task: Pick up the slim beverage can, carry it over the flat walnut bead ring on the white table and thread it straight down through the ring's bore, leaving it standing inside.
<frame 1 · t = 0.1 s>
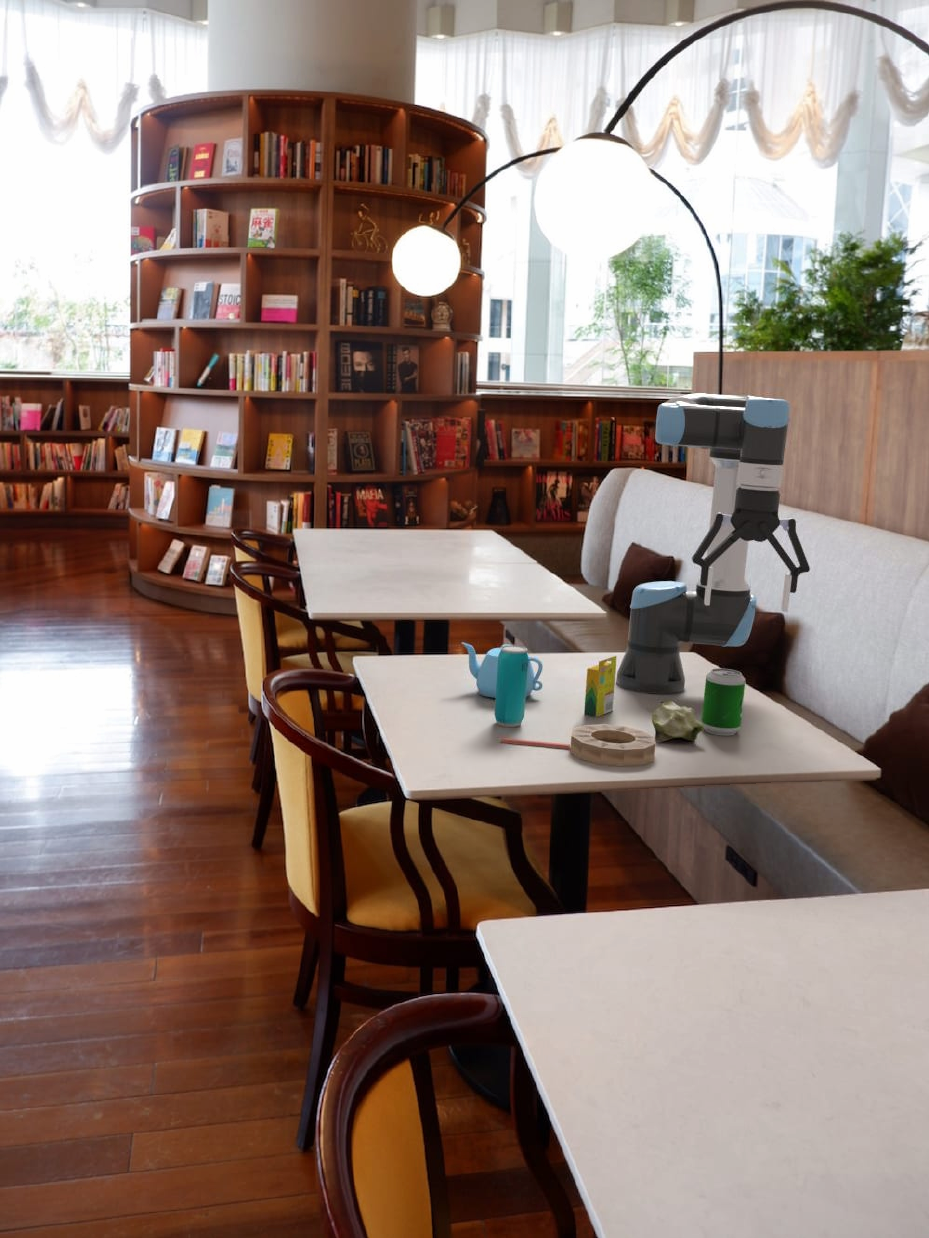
hand: (745, 607, 212), 28 cm above the table, fingers open, 13 cm apart
crayon box: (598, 713, 242), on the table
soda can: (720, 732, 235), on the table
beverage can: (508, 724, 230), on the table
stick: (535, 744, 218), on the table
bead: (611, 752, 216), on the table
fruit: (674, 739, 228), on the table
teapot: (499, 694, 252), on the table
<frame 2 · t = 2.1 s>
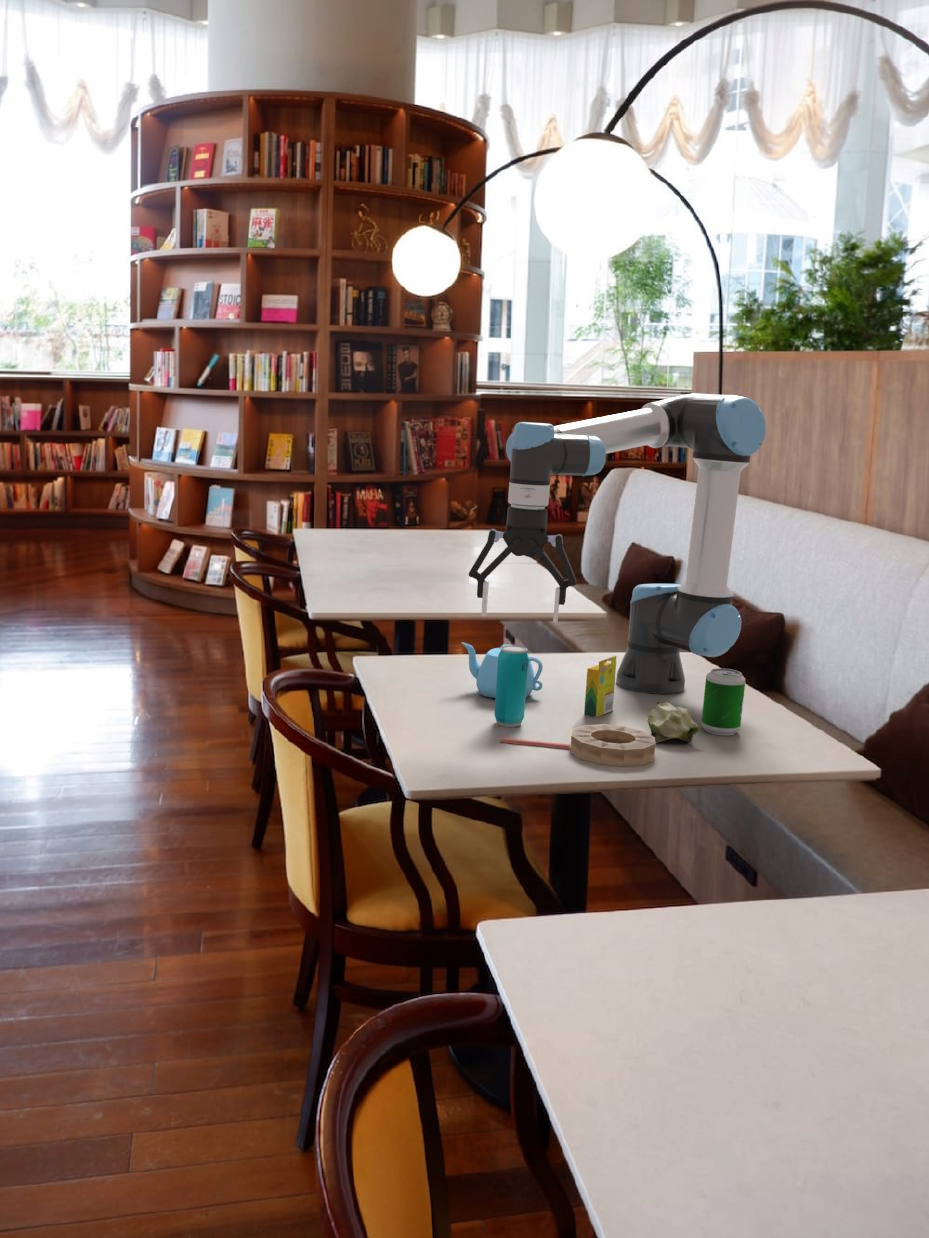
hand: (519, 618, 226), 21 cm above the table, fingers open, 13 cm apart
fruit: (670, 740, 227), on the table
everything else where it was.
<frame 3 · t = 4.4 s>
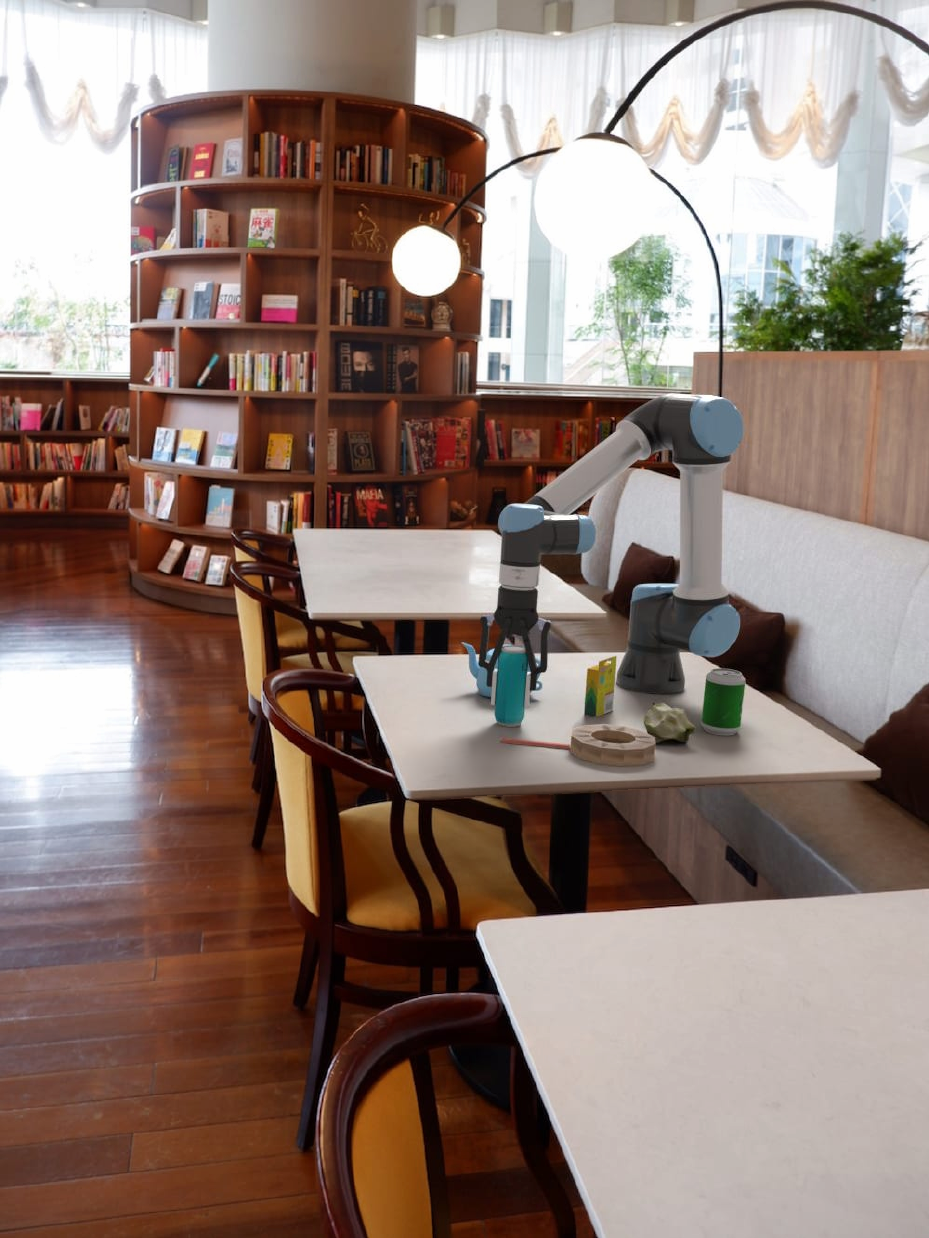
hand: (510, 704, 230), 4 cm above the table, fingers closed on beverage can, 6 cm apart
beverage can: (508, 724, 230), on the table, touching gripper
fruit: (666, 741, 226), on the table
everything else where it was.
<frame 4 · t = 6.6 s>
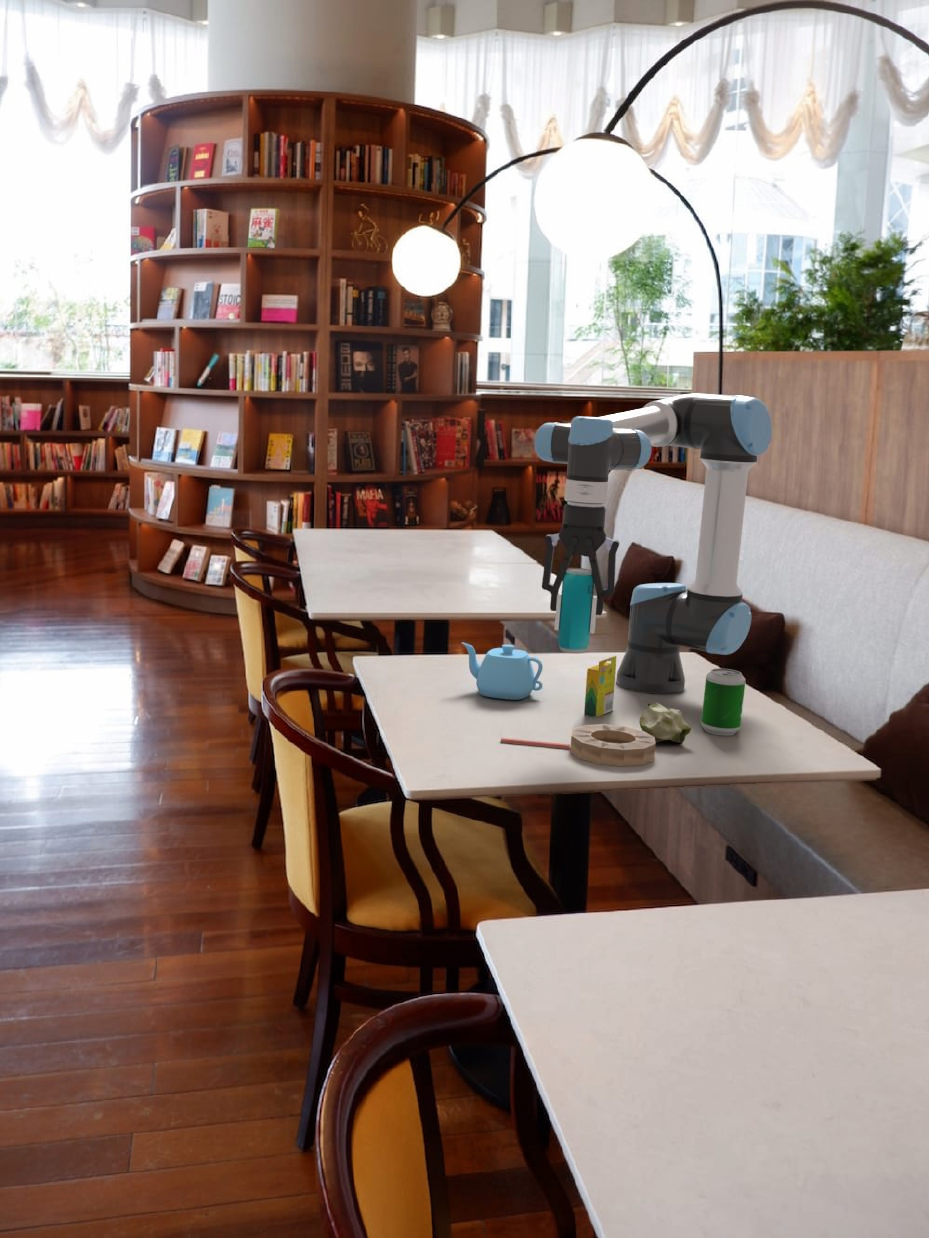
hand: (574, 630, 218), 21 cm above the table, fingers closed on beverage can, 6 cm apart
beverage can: (572, 651, 219), point 17 cm above the table, touching gripper
fruit: (662, 742, 226), on the table
everything else where it was.
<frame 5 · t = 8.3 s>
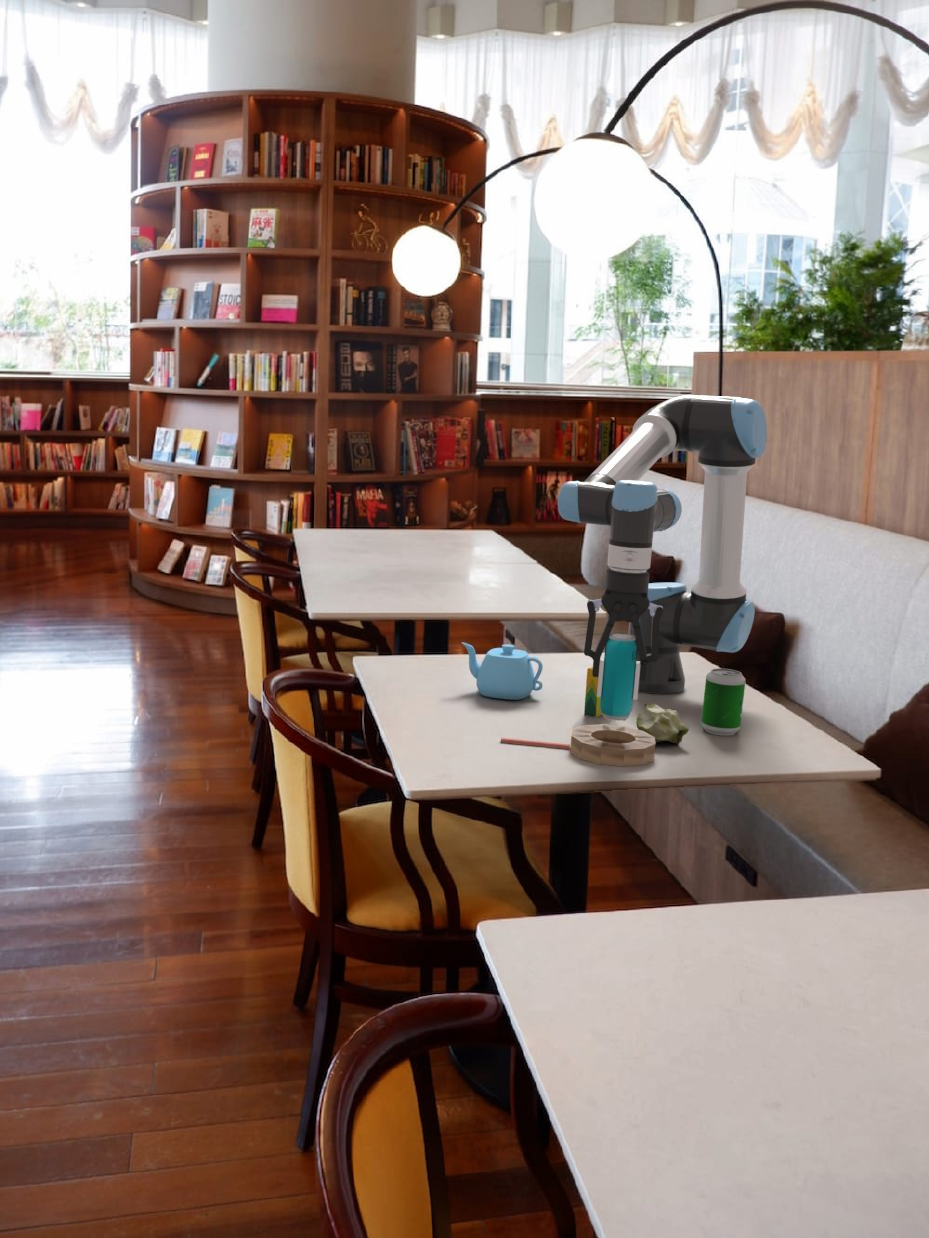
hand: (617, 696, 214), 11 cm above the table, fingers closed on beverage can, 6 cm apart
beverage can: (615, 717, 215), point 7 cm above the table, touching gripper
when the fingers open (6 cm above the table, at t = 10.0 s): beverage can drops 2 cm, resting in bead.
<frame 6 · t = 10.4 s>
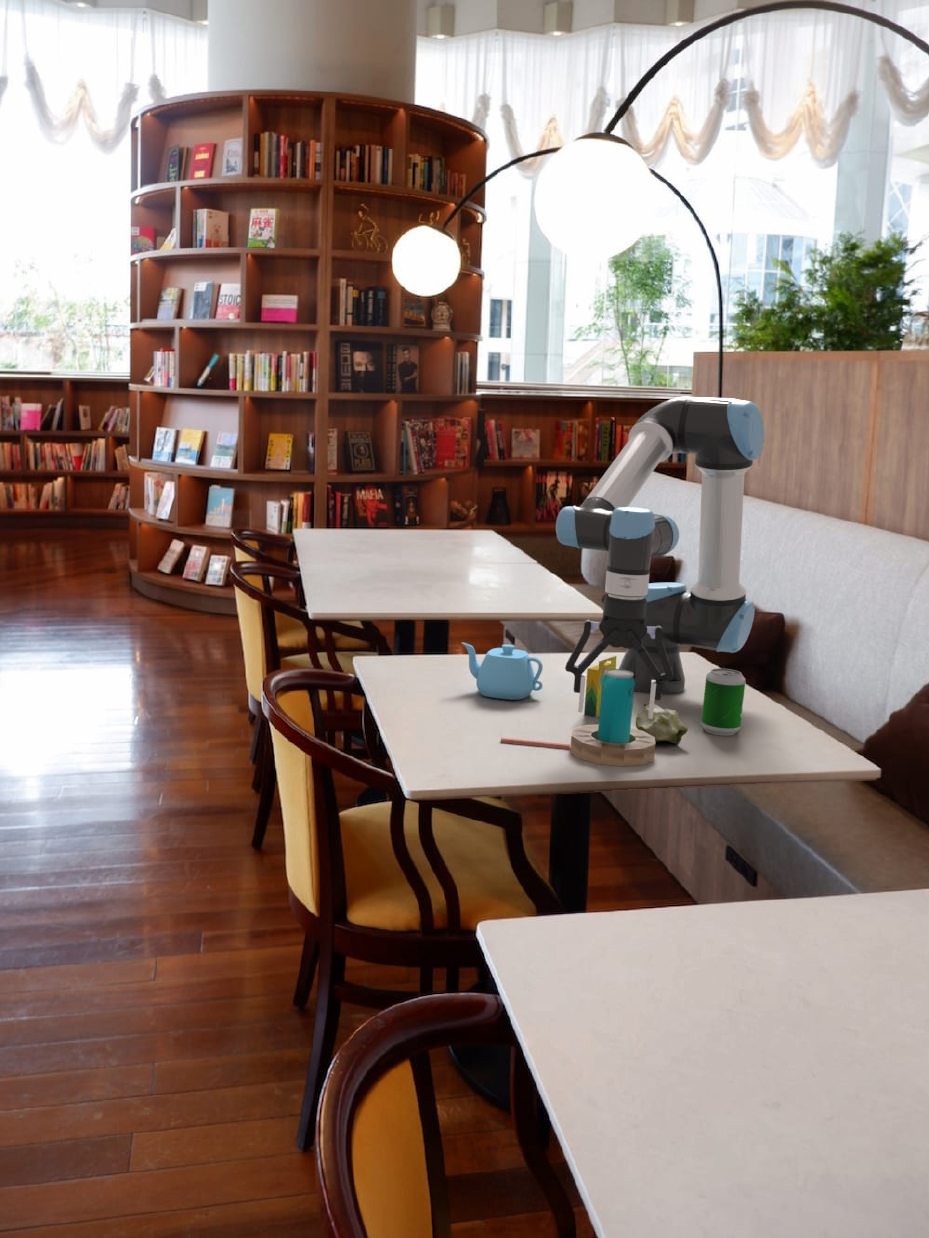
hand: (615, 713, 215), 7 cm above the table, fingers open, 12 cm apart
beverage can: (612, 753, 216), resting in bead
everything else where it was.
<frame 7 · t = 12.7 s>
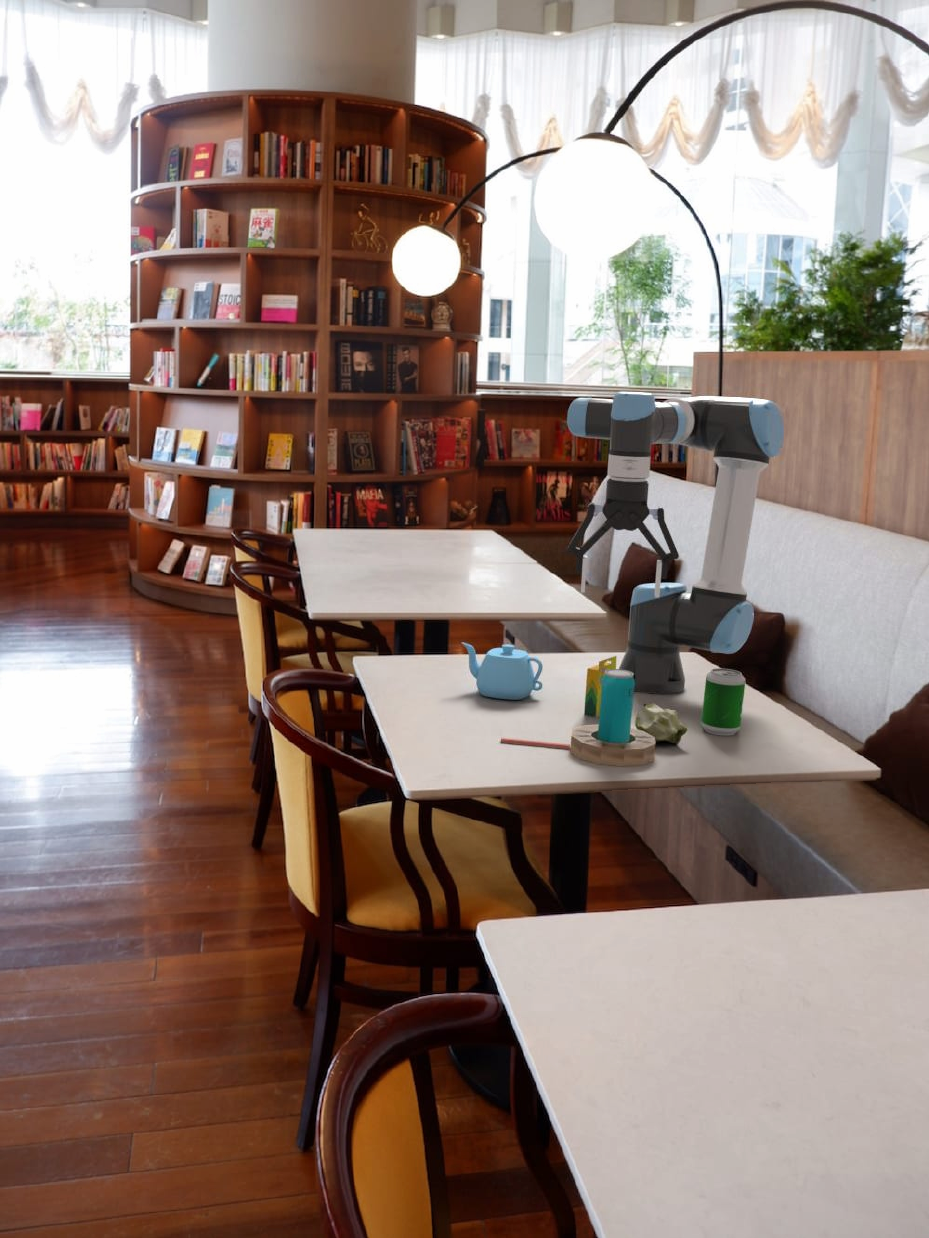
hand: (619, 593, 220), 28 cm above the table, fingers open, 13 cm apart
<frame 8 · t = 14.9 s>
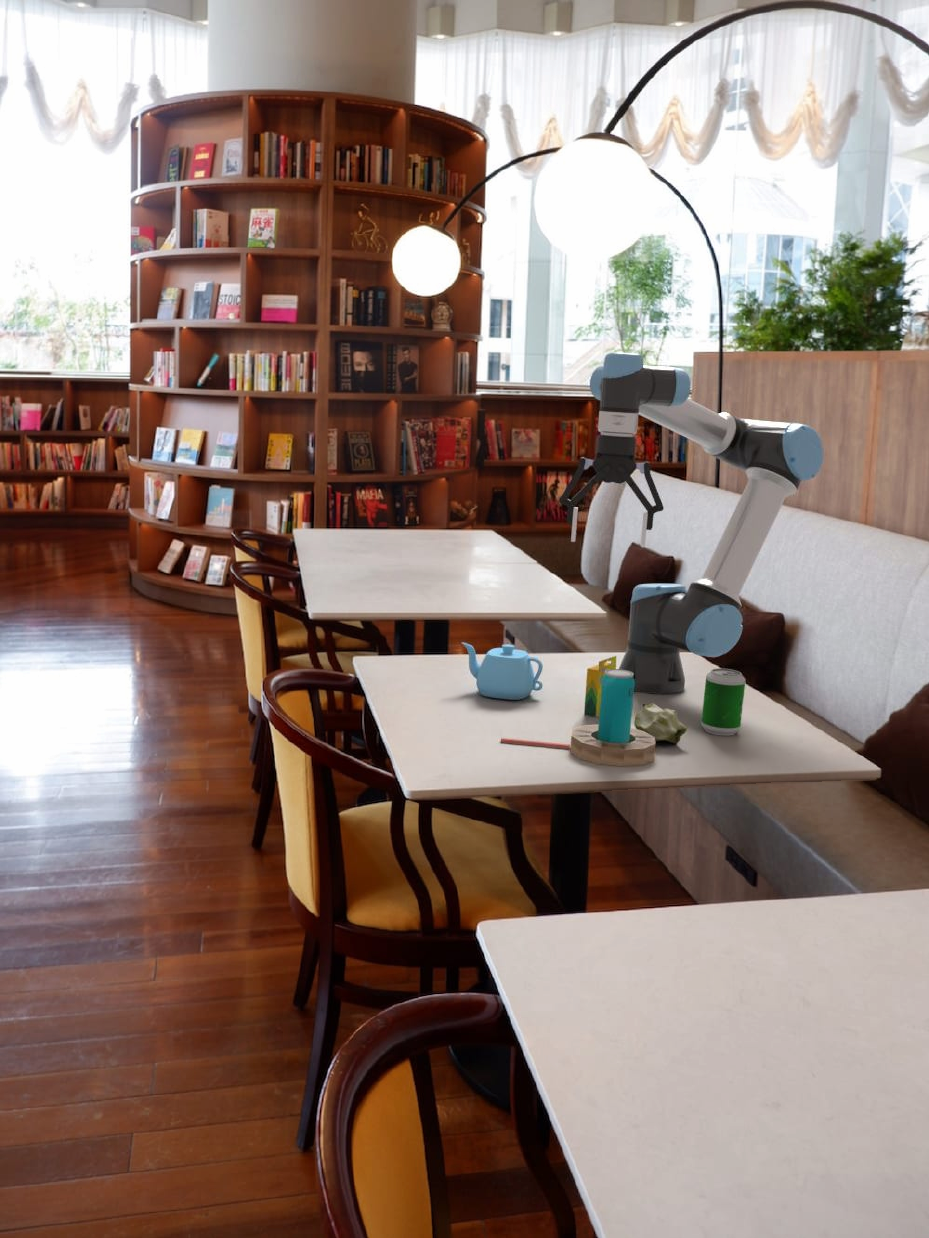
hand: (607, 543, 234), 35 cm above the table, fingers open, 13 cm apart
at the end: beverage can 0.0 cm off-centre on the bead, point 0.0 cm above the bead's base; beverage can tilted 0°; the gripper is holding nothing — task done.
